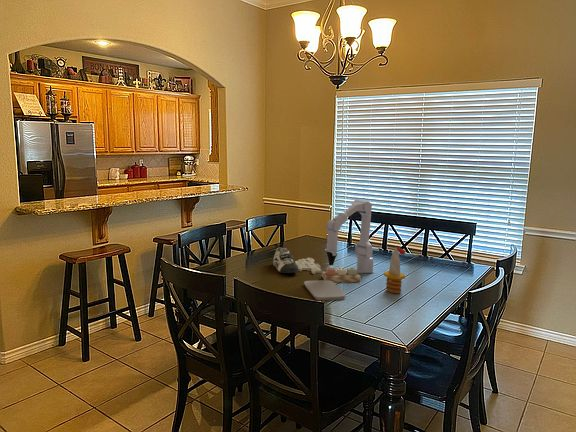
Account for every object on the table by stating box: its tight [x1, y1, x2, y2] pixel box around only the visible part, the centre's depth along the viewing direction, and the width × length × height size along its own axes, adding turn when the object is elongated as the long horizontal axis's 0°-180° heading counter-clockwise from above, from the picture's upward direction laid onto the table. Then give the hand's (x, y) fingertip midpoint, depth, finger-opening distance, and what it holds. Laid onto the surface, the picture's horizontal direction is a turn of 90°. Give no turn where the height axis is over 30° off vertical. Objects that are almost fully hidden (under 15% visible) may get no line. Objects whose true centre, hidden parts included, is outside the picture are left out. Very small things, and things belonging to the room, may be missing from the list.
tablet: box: [303, 279, 347, 301], centre depth 228 cm, size 16×26×2 cm, turn 13°
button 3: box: [325, 267, 337, 275], centre depth 249 cm, size 4×4×3 cm
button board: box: [321, 270, 361, 283], centre depth 250 cm, size 20×10×3 cm, turn 97°
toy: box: [383, 246, 406, 294], centre depth 228 cm, size 9×24×15 cm
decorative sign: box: [294, 257, 323, 275], centre depth 273 cm, size 31×2×15 cm
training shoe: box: [272, 247, 299, 274], centre depth 264 cm, size 11×29×13 cm, turn 22°
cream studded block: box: [336, 267, 347, 275], centre depth 249 cm, size 4×4×3 cm
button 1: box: [346, 267, 357, 275], centre depth 250 cm, size 4×4×3 cm
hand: (331, 265), depth 248 cm, fingers closed
